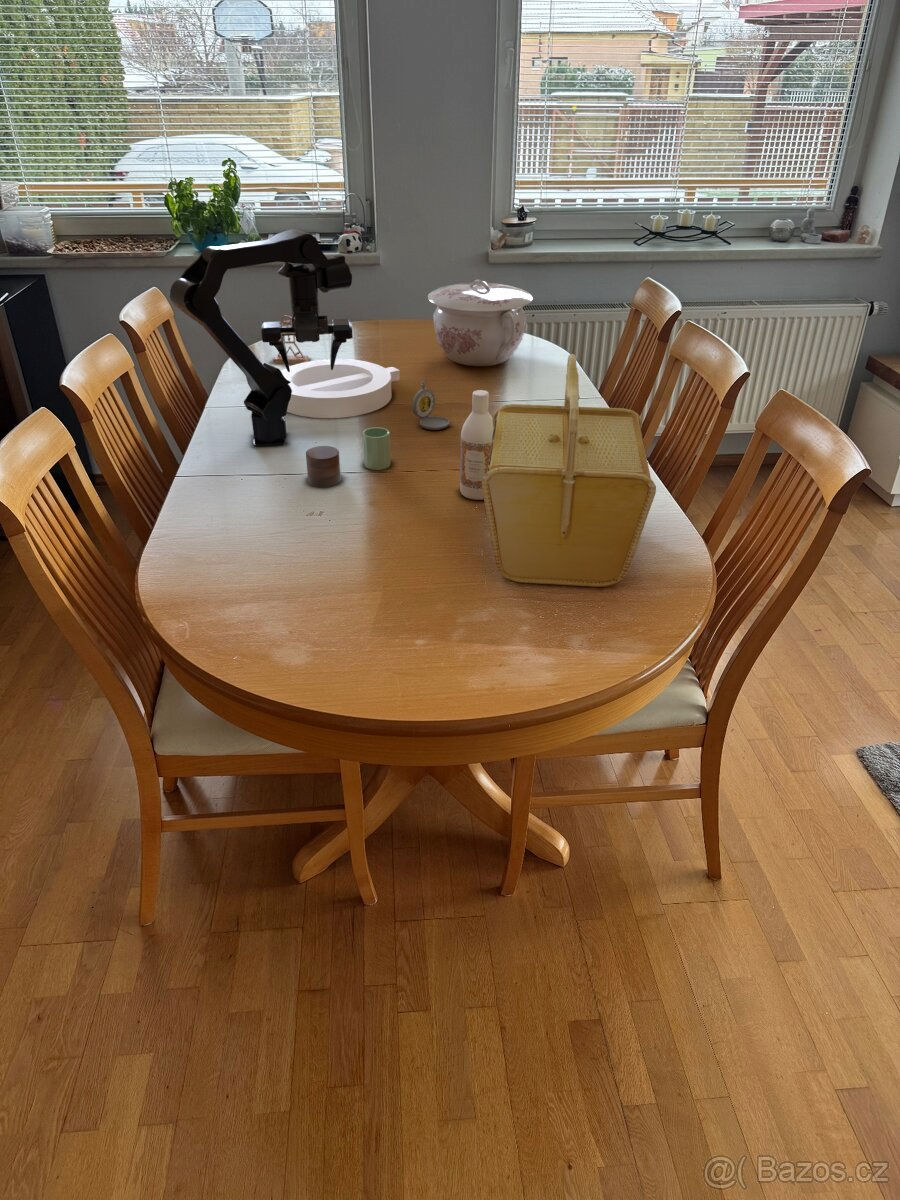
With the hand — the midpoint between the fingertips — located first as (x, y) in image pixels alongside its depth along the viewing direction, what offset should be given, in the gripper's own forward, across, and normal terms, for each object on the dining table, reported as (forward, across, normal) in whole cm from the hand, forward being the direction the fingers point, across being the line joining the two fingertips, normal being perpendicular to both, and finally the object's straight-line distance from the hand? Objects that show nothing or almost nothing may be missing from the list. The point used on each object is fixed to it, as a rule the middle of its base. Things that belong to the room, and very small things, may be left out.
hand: (310, 370), depth 189 cm
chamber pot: (+13, +45, +42) cm, 63 cm away
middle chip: (+11, +1, -28) cm, 30 cm away
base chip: (+13, +1, -28) cm, 31 cm away
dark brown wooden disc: (+9, +1, -28) cm, 29 cm away
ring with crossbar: (+13, +5, +19) cm, 24 cm away
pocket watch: (+13, +26, -2) cm, 29 cm away
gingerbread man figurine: (+13, -5, +48) cm, 50 cm away
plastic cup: (+13, +12, -22) cm, 28 cm away
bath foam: (+13, +30, -38) cm, 50 cm away
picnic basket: (+13, +40, -61) cm, 74 cm away
